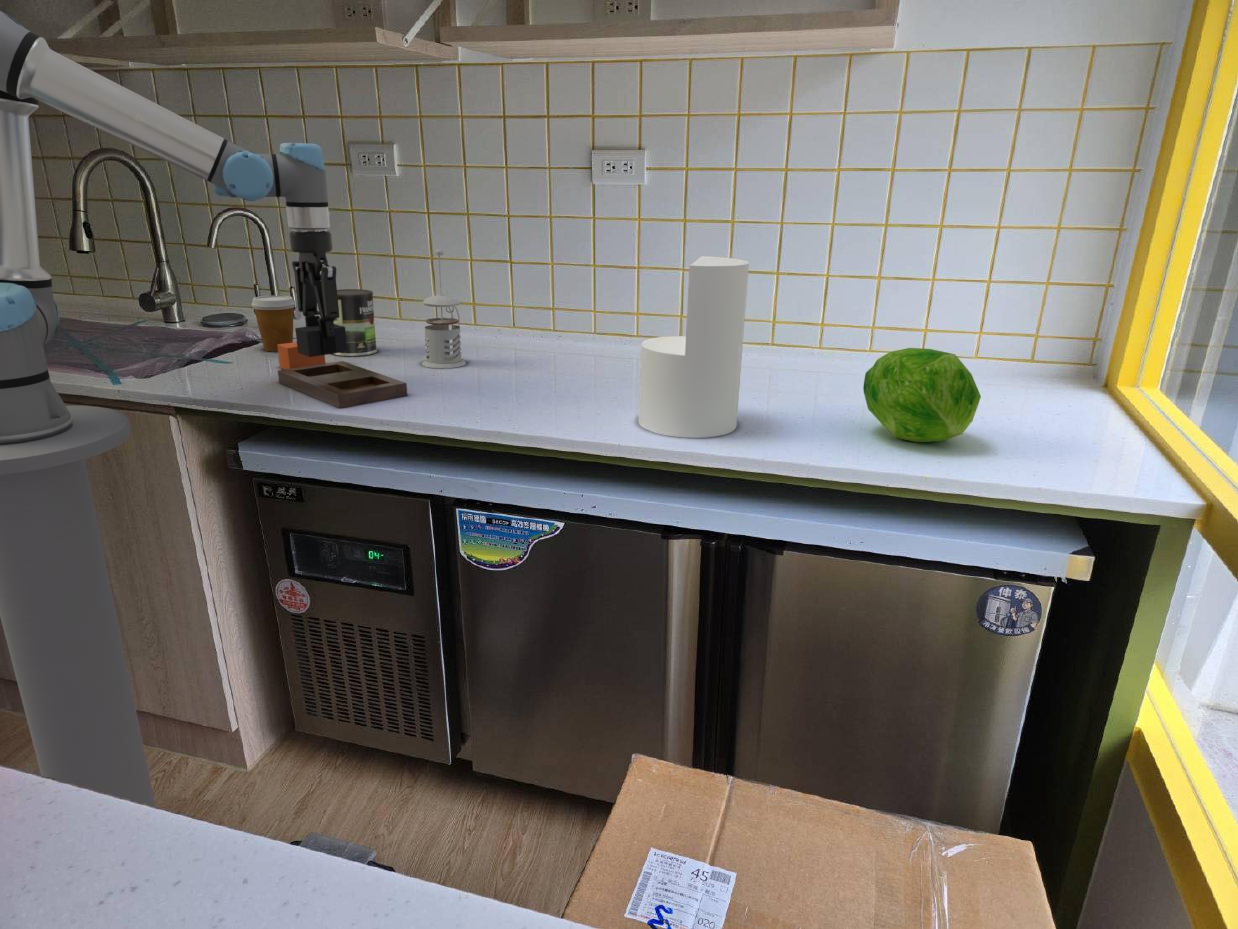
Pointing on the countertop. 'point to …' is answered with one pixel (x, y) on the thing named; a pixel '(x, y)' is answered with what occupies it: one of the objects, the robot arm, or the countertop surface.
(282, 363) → the orange block
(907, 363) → the lettuce
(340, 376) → the brown wooden slotted tray
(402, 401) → the countertop surface
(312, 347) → the black rectangular block
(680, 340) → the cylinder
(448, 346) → the french press
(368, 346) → the coffee can
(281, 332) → the disposable coffee cup
